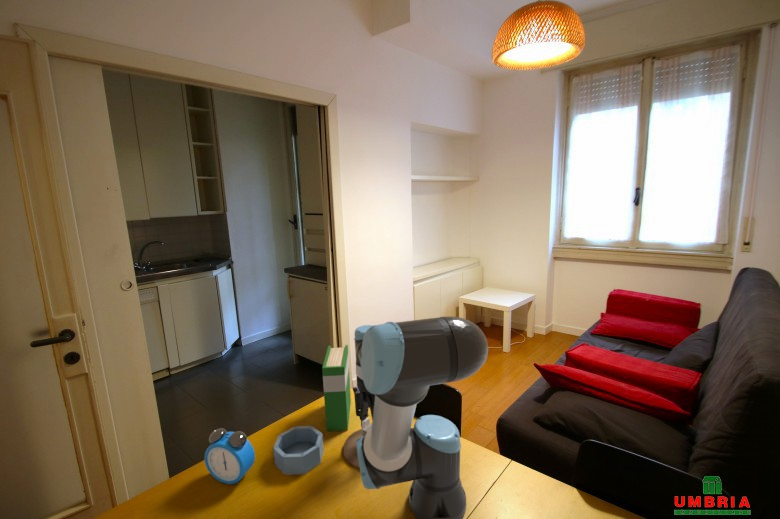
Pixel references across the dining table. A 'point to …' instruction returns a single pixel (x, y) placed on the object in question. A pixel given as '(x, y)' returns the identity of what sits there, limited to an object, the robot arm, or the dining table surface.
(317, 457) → the bowl
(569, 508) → the dining table surface
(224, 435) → the alarm clock
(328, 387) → the hardback book
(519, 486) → the dining table surface
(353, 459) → the lid
